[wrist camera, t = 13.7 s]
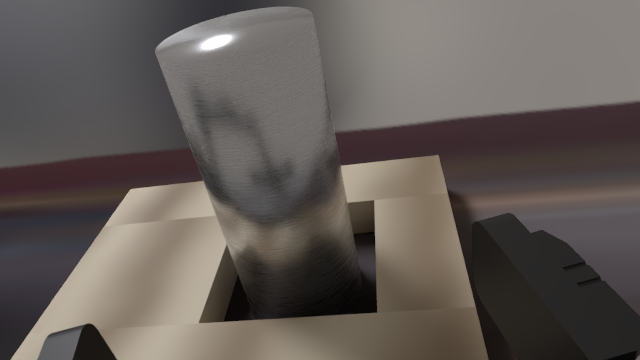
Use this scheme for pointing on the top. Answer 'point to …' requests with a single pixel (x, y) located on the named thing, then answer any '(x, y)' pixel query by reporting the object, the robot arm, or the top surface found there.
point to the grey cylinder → (268, 157)
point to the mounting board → (220, 275)
